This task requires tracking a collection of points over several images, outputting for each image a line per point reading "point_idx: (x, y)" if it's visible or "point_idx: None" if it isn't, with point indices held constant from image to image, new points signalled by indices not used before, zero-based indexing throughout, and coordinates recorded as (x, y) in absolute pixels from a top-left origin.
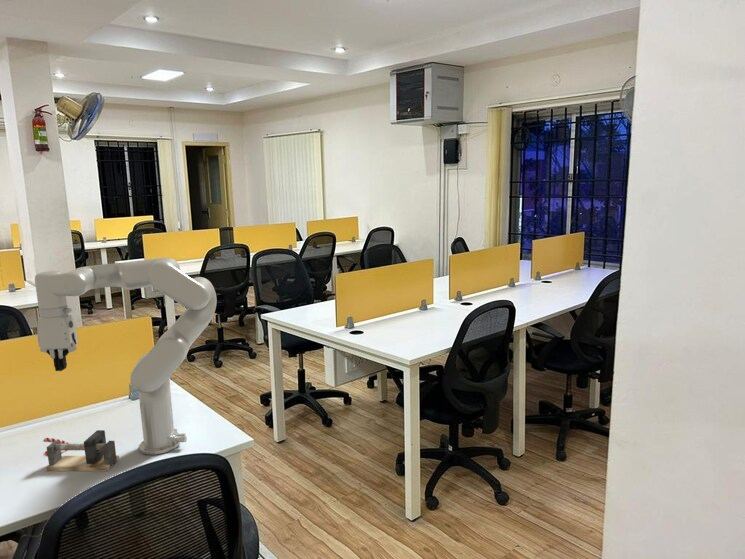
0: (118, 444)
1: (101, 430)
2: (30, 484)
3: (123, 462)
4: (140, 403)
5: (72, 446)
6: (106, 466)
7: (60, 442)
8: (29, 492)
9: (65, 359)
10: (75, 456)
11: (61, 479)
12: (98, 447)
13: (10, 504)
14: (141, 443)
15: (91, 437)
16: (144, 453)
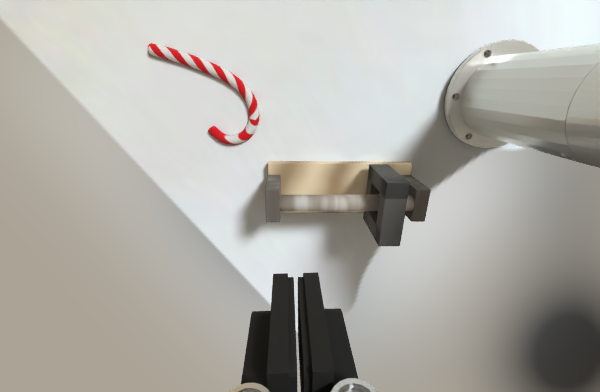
0: (380, 85)
1: (400, 183)
2: (270, 253)
3: (423, 176)
4: (577, 151)
5: (328, 210)
6: None
7: (213, 75)
8: None
9: (352, 368)
10: (309, 167)
11: (320, 237)
12: None
13: None
14: (452, 102)
15: (389, 224)
16: (464, 142)
